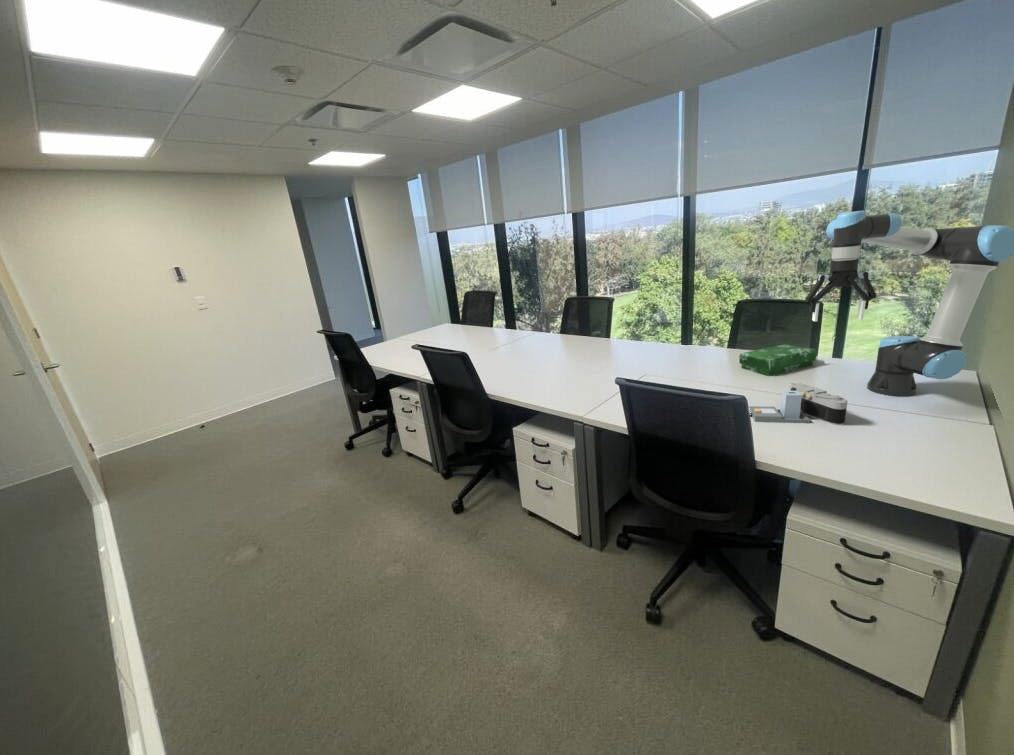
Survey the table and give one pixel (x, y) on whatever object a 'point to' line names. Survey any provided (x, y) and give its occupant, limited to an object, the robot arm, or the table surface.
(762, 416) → the grey rectangular base
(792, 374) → the table surface
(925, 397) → the table surface
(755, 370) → the box
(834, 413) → the camera
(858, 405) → the table surface
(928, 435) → the table surface
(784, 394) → the block
